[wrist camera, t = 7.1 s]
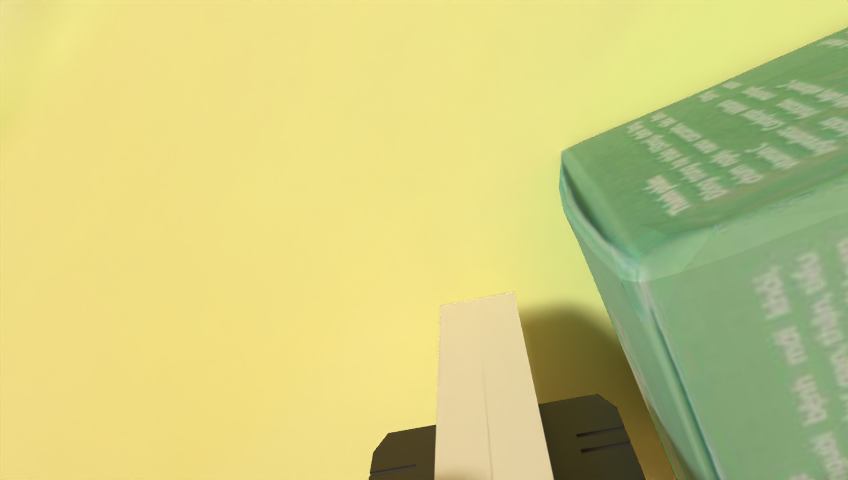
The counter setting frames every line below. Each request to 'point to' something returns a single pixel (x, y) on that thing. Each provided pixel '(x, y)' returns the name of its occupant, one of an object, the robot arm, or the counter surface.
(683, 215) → the box
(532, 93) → the counter surface
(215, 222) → the counter surface
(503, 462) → the robot arm
